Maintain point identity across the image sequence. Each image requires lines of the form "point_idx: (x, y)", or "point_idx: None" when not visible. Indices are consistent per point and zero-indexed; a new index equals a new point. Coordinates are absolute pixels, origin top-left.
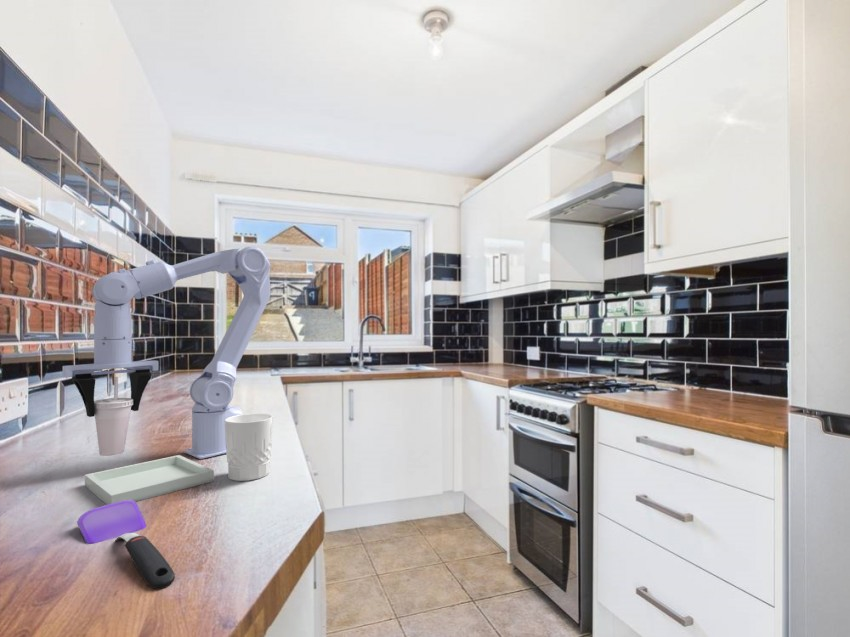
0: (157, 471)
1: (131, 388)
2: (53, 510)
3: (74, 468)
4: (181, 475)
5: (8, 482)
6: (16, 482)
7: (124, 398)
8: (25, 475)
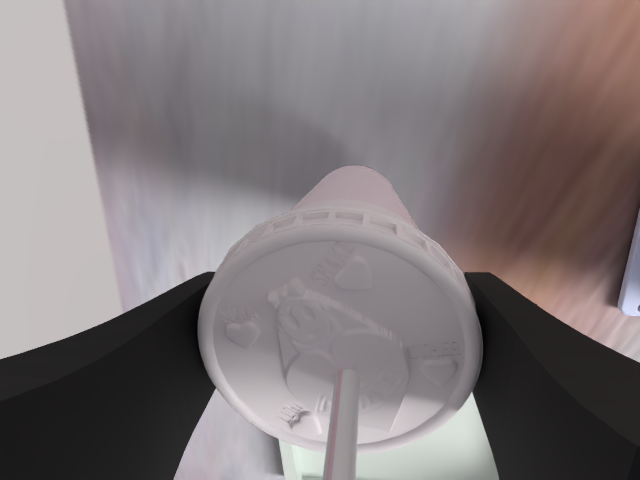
0: None
1: (526, 369)
2: (206, 413)
3: (257, 53)
4: (472, 427)
5: (81, 83)
6: (103, 105)
7: (441, 290)
8: (113, 19)
